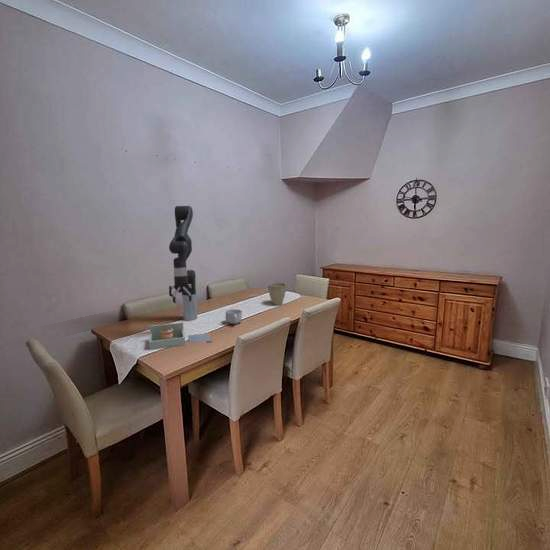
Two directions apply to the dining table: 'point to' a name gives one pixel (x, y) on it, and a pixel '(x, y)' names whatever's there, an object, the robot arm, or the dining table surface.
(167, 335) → the pot
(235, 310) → the teacup
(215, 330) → the dining table surface
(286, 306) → the dining table surface
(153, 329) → the cold frame
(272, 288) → the plant pot
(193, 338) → the slate tile
